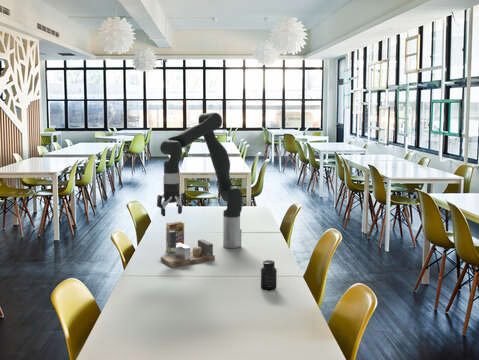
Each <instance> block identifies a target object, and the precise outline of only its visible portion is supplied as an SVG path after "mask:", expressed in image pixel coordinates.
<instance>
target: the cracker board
mask: <svg viewBox="0 0 479 360" xmlns="http://www.w3.org/2000/svg"><path fill="white" fill-rule="evenodd" d="M197 247H201V256H193V251H190V259H188V260H184V259H182V258H180V257H178V256H177V255H175V254H171V255H165V256H161V257H160V262H162V263H164V264H165V265H167V266H169V267H170V268H179V267H184V266H188V265H193V264H199V263H203V262H208V261H214V260H215V259H216V257H215V256H216V255H215V254H214V244H213V243H212V242H209V241H208V240H205V239H197Z"/></svg>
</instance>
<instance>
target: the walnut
mask: <svg viewBox="0 0 479 360" xmlns="http://www.w3.org/2000/svg"><path fill="white" fill-rule="evenodd" d="M192 252H193V256H201V247H198V246H193V247H192Z"/></svg>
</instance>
